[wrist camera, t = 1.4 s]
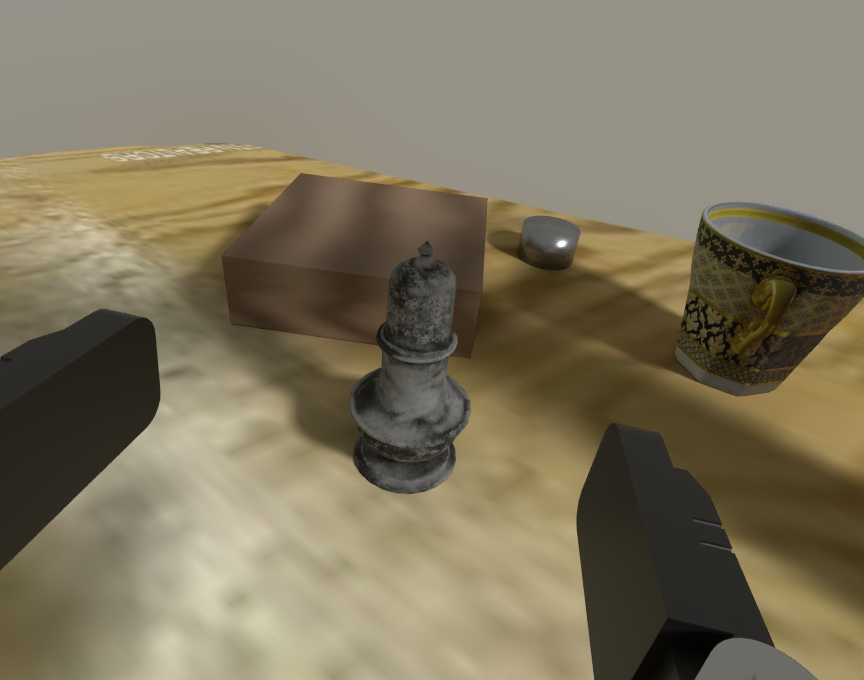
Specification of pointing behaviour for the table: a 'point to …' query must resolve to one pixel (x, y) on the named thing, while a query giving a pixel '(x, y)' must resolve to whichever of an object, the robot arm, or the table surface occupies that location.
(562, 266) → the grey metal puck
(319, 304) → the walnut stand
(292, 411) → the table surface
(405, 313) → the salt shaker
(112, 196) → the table surface
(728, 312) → the ceramic cup
